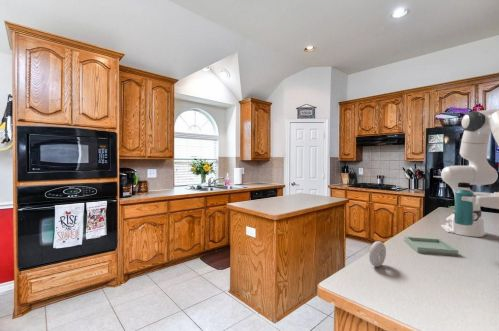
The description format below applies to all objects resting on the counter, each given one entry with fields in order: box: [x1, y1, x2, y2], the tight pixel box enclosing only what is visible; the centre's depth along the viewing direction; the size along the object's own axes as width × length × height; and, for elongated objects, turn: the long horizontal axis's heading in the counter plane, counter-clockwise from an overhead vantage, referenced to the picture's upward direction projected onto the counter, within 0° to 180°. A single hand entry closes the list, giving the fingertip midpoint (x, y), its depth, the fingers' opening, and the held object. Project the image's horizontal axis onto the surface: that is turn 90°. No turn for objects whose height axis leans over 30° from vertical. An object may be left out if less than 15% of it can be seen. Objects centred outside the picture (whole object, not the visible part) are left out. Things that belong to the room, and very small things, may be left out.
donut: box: [368, 240, 387, 268], centre depth 99 cm, size 10×4×10 cm, turn 130°
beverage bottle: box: [453, 182, 474, 225], centre depth 111 cm, size 6×7×20 cm
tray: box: [403, 236, 459, 257], centre depth 119 cm, size 16×16×2 cm
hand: (461, 197), depth 111 cm, fingers closed on beverage bottle, 6 cm apart
